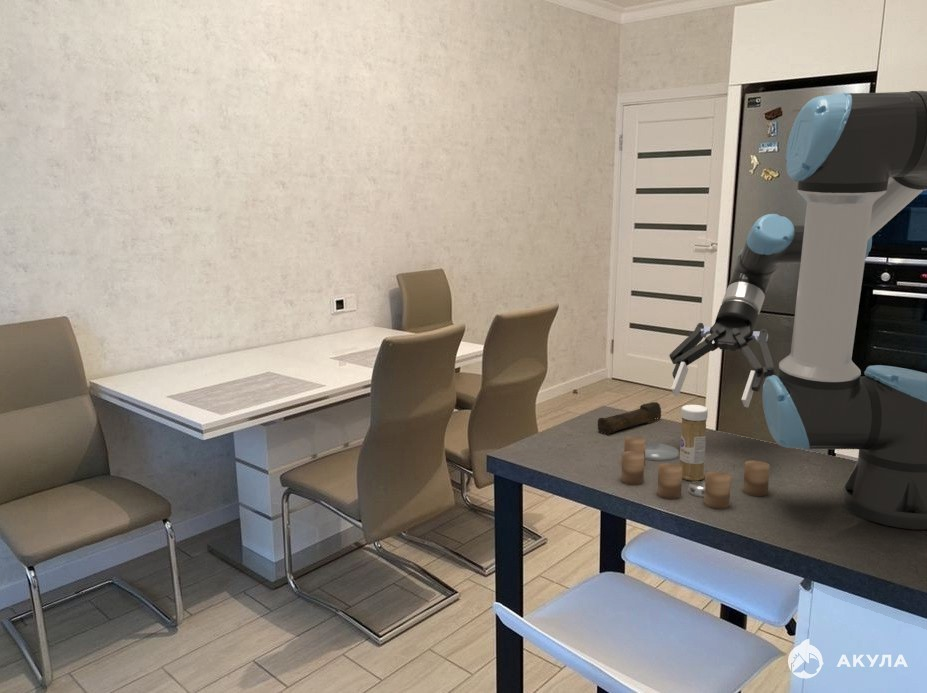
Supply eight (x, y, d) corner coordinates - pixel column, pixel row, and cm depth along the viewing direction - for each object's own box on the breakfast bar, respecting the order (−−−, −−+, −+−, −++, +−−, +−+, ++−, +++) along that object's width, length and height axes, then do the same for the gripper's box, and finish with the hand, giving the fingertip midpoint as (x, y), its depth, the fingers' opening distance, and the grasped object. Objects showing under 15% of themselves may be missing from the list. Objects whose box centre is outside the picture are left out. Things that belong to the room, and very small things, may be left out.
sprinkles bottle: (673, 474, 132) (676, 405, 130) (694, 471, 134) (697, 402, 131) (688, 483, 128) (691, 411, 126) (709, 479, 130) (713, 409, 127)
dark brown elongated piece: (608, 437, 155) (609, 417, 154) (596, 432, 159) (596, 413, 158) (669, 422, 165) (670, 403, 164) (656, 418, 168) (657, 399, 167)
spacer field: (772, 492, 123) (774, 465, 122) (700, 517, 114) (702, 488, 113) (662, 451, 145) (663, 428, 144) (594, 469, 136) (595, 444, 135)
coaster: (688, 455, 142) (688, 452, 142) (655, 464, 138) (655, 461, 138) (655, 443, 150) (655, 440, 150) (623, 451, 146) (623, 448, 146)
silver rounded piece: (715, 492, 124) (716, 484, 124) (707, 500, 121) (707, 491, 121) (693, 487, 127) (693, 479, 127) (684, 494, 124) (685, 486, 124)
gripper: (808, 326, 138) (780, 419, 130) (685, 316, 154) (653, 398, 146) (802, 302, 133) (773, 397, 125) (675, 294, 149) (642, 378, 141)
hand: (708, 398), depth 135 cm, fingers open, 13 cm apart
